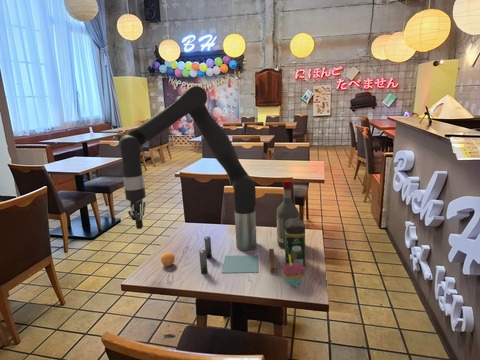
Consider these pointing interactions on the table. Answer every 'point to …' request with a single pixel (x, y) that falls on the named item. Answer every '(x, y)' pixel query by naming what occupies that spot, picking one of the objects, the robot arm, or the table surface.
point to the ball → (167, 259)
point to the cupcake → (293, 272)
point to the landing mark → (240, 264)
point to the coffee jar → (295, 241)
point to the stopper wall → (272, 261)
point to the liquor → (285, 213)
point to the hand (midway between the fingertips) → (139, 228)
